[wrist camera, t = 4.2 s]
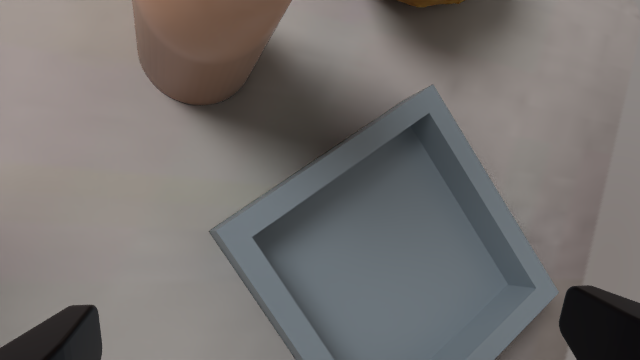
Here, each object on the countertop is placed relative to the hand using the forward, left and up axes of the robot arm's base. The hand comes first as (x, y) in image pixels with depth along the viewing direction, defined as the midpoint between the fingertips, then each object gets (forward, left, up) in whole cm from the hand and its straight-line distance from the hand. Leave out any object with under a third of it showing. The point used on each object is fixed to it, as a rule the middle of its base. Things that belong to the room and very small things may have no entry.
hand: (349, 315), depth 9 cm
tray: (+6, -4, -12) cm, 14 cm away
